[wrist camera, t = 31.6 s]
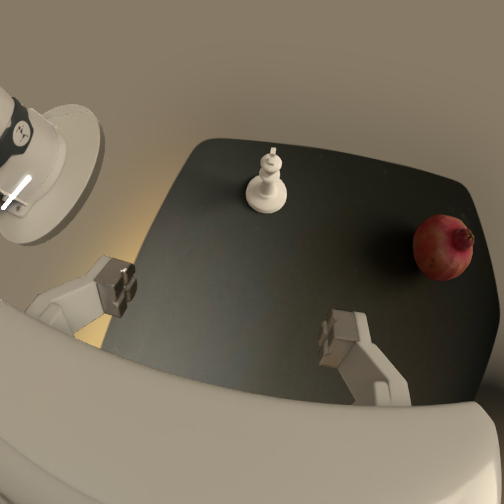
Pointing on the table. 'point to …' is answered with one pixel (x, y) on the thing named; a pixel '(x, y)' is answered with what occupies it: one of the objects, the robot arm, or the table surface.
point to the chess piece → (267, 186)
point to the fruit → (442, 247)
